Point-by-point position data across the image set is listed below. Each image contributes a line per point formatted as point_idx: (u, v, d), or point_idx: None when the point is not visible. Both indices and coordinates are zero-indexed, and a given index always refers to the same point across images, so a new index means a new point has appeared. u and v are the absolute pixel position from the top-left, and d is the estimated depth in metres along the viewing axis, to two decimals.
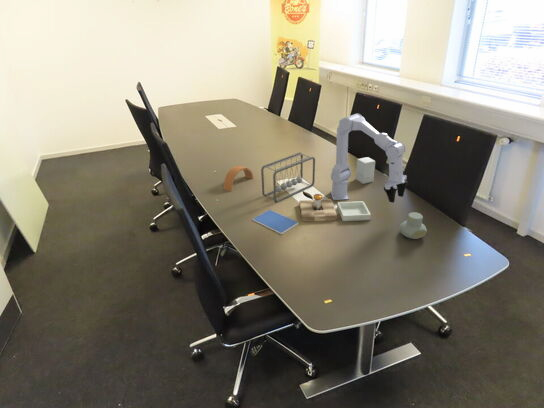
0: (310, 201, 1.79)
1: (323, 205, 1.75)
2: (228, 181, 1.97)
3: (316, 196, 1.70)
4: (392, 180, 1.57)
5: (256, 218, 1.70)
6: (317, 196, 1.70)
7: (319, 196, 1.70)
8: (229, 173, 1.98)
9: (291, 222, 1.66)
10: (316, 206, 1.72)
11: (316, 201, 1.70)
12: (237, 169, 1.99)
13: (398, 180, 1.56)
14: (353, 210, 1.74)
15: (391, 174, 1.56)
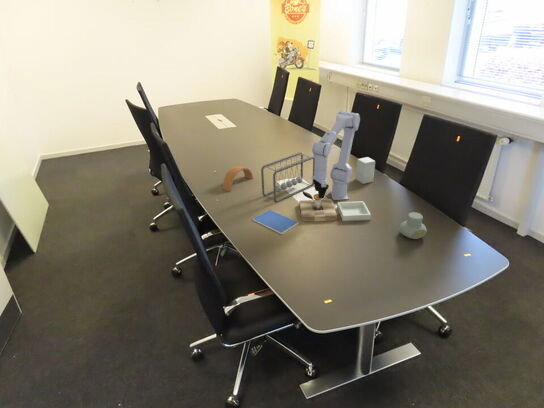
0: (310, 201, 1.79)
1: (323, 205, 1.75)
2: (228, 181, 1.97)
3: (316, 196, 1.70)
4: None
5: (256, 218, 1.70)
6: (317, 196, 1.70)
7: None
8: (228, 173, 1.98)
9: (291, 222, 1.66)
10: (316, 206, 1.72)
11: (316, 201, 1.70)
12: (236, 169, 1.99)
13: None
14: (353, 210, 1.74)
15: None
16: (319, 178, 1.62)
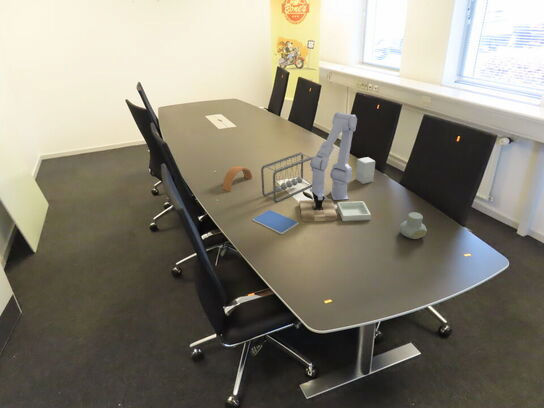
0: (310, 201, 1.79)
1: (323, 205, 1.75)
2: (228, 181, 1.97)
3: None
4: None
5: (256, 218, 1.70)
6: None
7: None
8: (228, 173, 1.98)
9: (291, 222, 1.66)
10: None
11: None
12: (236, 169, 1.99)
13: None
14: (353, 210, 1.74)
15: None
16: (316, 191, 1.66)
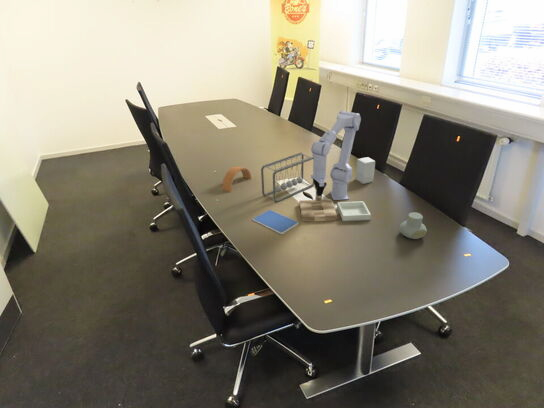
0: (310, 201, 1.79)
1: (323, 205, 1.75)
2: (227, 181, 1.96)
3: None
4: None
5: (256, 218, 1.70)
6: None
7: None
8: (228, 173, 1.98)
9: (291, 222, 1.66)
10: None
11: None
12: (236, 169, 1.99)
13: None
14: (353, 210, 1.74)
15: None
16: (318, 177, 1.63)
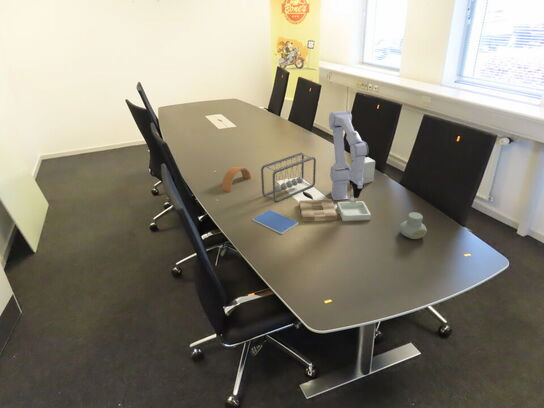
0: (310, 201, 1.79)
1: (323, 205, 1.75)
2: (227, 181, 1.96)
3: None
4: None
5: (256, 218, 1.70)
6: None
7: None
8: (227, 174, 1.98)
9: (291, 222, 1.66)
10: (352, 195, 1.66)
11: None
12: (235, 169, 1.99)
13: None
14: (353, 210, 1.74)
15: None
16: (355, 179, 1.60)
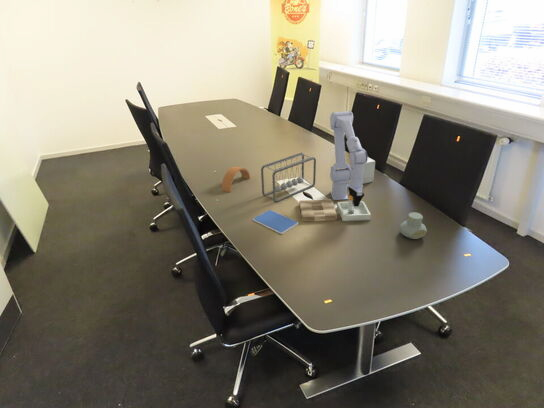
0: (310, 201, 1.79)
1: (323, 205, 1.75)
2: (227, 182, 1.96)
3: (351, 196, 1.68)
4: None
5: (256, 218, 1.70)
6: (352, 196, 1.68)
7: None
8: (227, 174, 1.97)
9: (291, 222, 1.66)
10: (350, 206, 1.69)
11: (351, 201, 1.68)
12: (235, 170, 1.99)
13: None
14: None
15: None
16: (355, 186, 1.62)
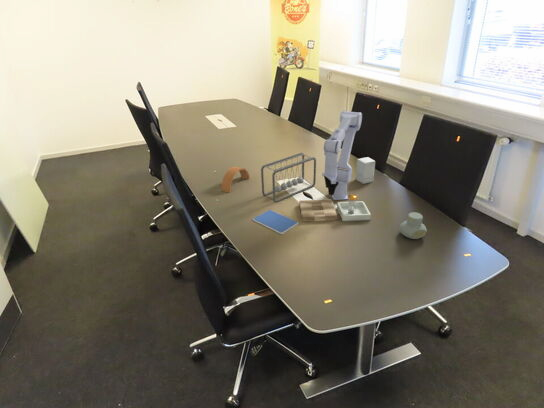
0: (310, 201, 1.79)
1: (323, 205, 1.75)
2: (227, 182, 1.96)
3: (351, 196, 1.68)
4: None
5: (256, 218, 1.70)
6: (352, 196, 1.68)
7: (354, 196, 1.67)
8: (227, 174, 1.97)
9: (291, 222, 1.66)
10: (351, 206, 1.69)
11: (351, 201, 1.68)
12: (234, 170, 1.98)
13: None
14: None
15: None
16: (329, 175, 1.64)
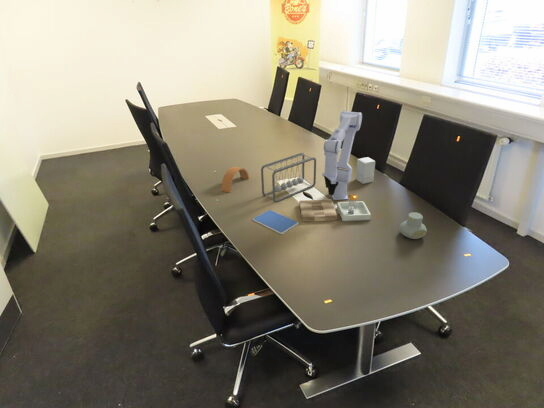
0: (310, 201, 1.79)
1: (323, 205, 1.75)
2: (226, 182, 1.96)
3: (351, 196, 1.68)
4: None
5: (256, 218, 1.70)
6: (352, 196, 1.68)
7: (354, 196, 1.67)
8: (226, 174, 1.97)
9: (291, 222, 1.66)
10: (351, 206, 1.69)
11: (351, 201, 1.68)
12: (234, 170, 1.98)
13: None
14: None
15: None
16: (329, 175, 1.64)
